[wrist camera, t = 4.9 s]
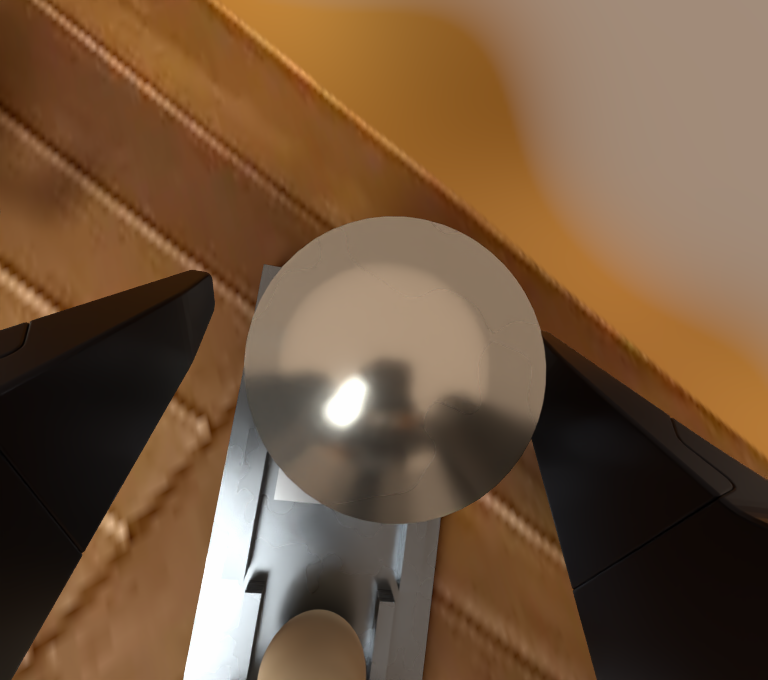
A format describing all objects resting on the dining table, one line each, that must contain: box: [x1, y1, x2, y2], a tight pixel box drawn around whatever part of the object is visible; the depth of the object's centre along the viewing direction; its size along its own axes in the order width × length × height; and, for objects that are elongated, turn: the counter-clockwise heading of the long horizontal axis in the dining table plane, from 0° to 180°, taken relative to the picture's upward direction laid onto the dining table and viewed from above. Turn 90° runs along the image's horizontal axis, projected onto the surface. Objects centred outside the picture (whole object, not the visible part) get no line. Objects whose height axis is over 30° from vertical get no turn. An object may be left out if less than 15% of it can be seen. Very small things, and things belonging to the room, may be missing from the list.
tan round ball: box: [257, 609, 366, 680], centre depth 12 cm, size 4×4×4 cm
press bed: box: [183, 264, 441, 680], centre depth 13 cm, size 19×9×4 cm, turn 172°
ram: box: [244, 216, 546, 524], centre depth 10 cm, size 6×5×10 cm
